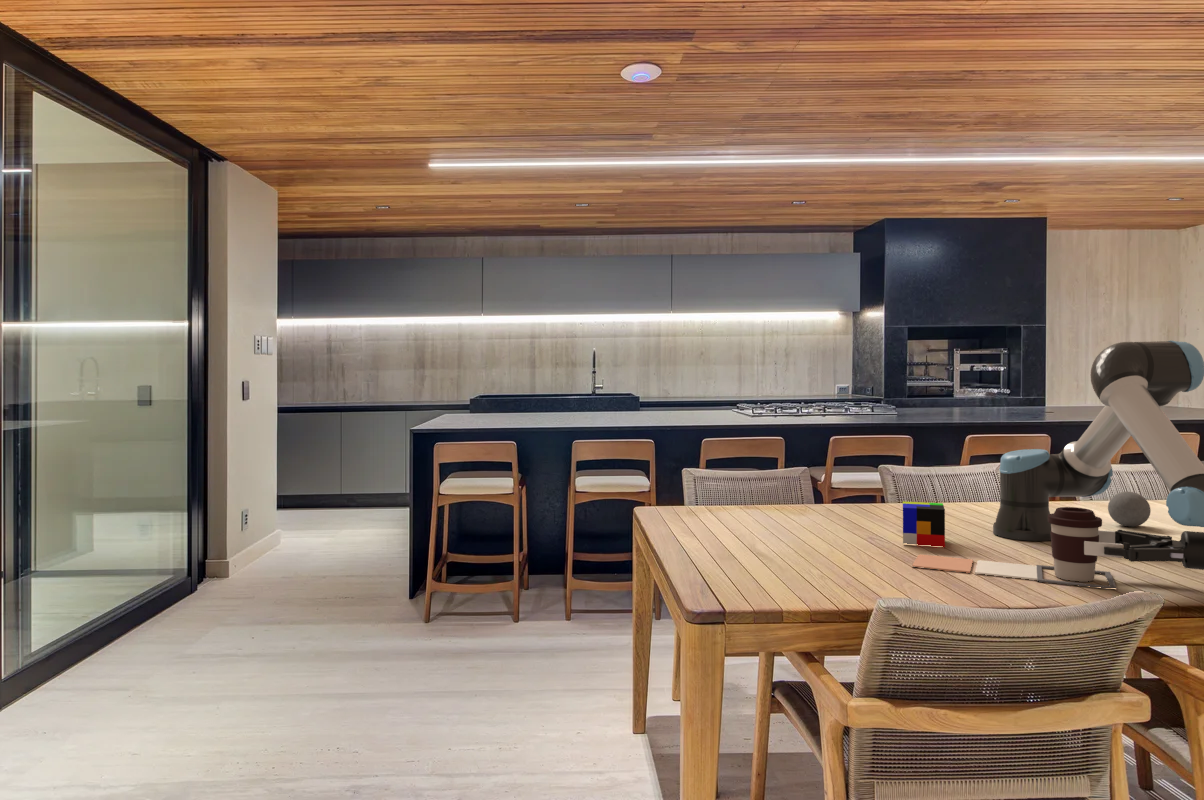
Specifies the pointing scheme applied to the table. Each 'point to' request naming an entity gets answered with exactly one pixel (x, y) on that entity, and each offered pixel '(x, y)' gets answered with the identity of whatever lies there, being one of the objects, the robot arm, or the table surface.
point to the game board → (997, 569)
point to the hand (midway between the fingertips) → (1081, 541)
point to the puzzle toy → (924, 523)
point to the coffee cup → (1073, 542)
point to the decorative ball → (1129, 509)
